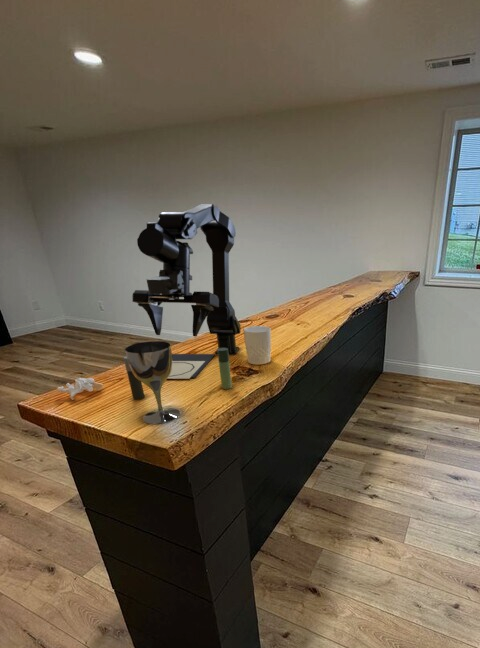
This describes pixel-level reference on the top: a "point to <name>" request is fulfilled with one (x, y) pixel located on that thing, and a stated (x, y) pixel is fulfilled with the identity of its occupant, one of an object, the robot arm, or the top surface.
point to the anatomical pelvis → (81, 386)
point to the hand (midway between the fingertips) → (176, 335)
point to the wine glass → (153, 374)
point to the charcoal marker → (134, 383)
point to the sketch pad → (188, 365)
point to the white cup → (258, 344)
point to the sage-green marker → (224, 368)
